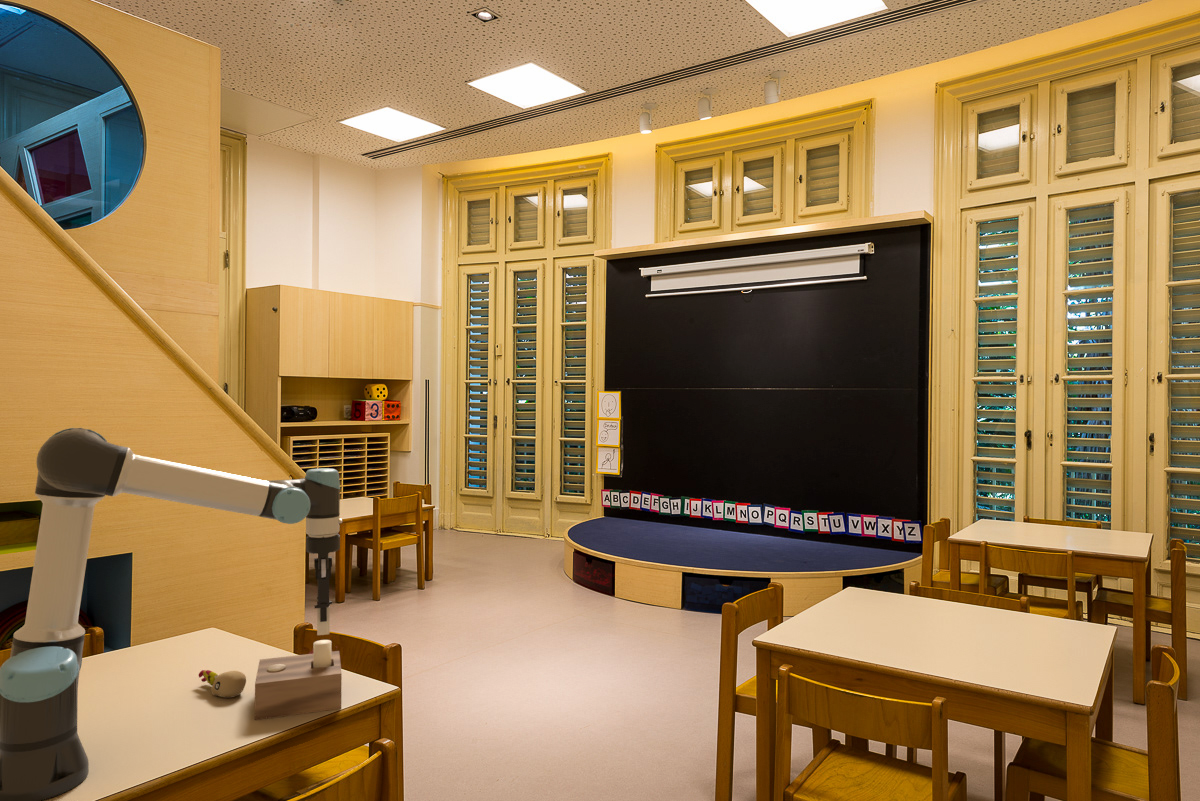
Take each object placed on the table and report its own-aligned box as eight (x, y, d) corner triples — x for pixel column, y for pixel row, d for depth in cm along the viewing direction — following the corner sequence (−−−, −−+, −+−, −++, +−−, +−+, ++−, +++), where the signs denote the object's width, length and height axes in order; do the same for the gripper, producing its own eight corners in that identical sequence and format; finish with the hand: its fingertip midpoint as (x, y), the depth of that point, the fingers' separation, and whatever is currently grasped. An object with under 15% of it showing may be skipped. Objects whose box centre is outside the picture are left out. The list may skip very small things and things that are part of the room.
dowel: (331, 678, 176) (331, 644, 176) (313, 680, 175) (313, 646, 174) (331, 672, 180) (331, 639, 180) (313, 674, 178) (313, 640, 178)
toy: (185, 676, 181) (218, 690, 172) (211, 654, 186) (244, 666, 177) (197, 694, 183) (231, 708, 175) (222, 672, 188) (256, 684, 180)
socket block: (341, 708, 171) (341, 671, 171) (254, 720, 165) (254, 681, 165) (338, 682, 186) (339, 649, 186) (259, 692, 180) (259, 657, 180)
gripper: (340, 538, 172) (341, 640, 172) (338, 528, 184) (339, 624, 185) (305, 540, 169) (306, 644, 170) (306, 530, 182) (306, 627, 182)
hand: (323, 633), depth 177 cm, fingers closed
